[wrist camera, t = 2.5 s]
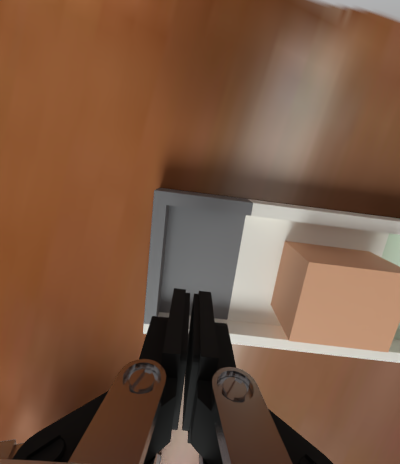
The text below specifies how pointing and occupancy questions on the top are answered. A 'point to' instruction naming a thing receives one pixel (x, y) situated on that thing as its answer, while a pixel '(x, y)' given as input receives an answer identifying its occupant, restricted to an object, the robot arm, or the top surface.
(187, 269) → the track
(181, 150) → the top surface
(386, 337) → the terracotta block
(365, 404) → the top surface
